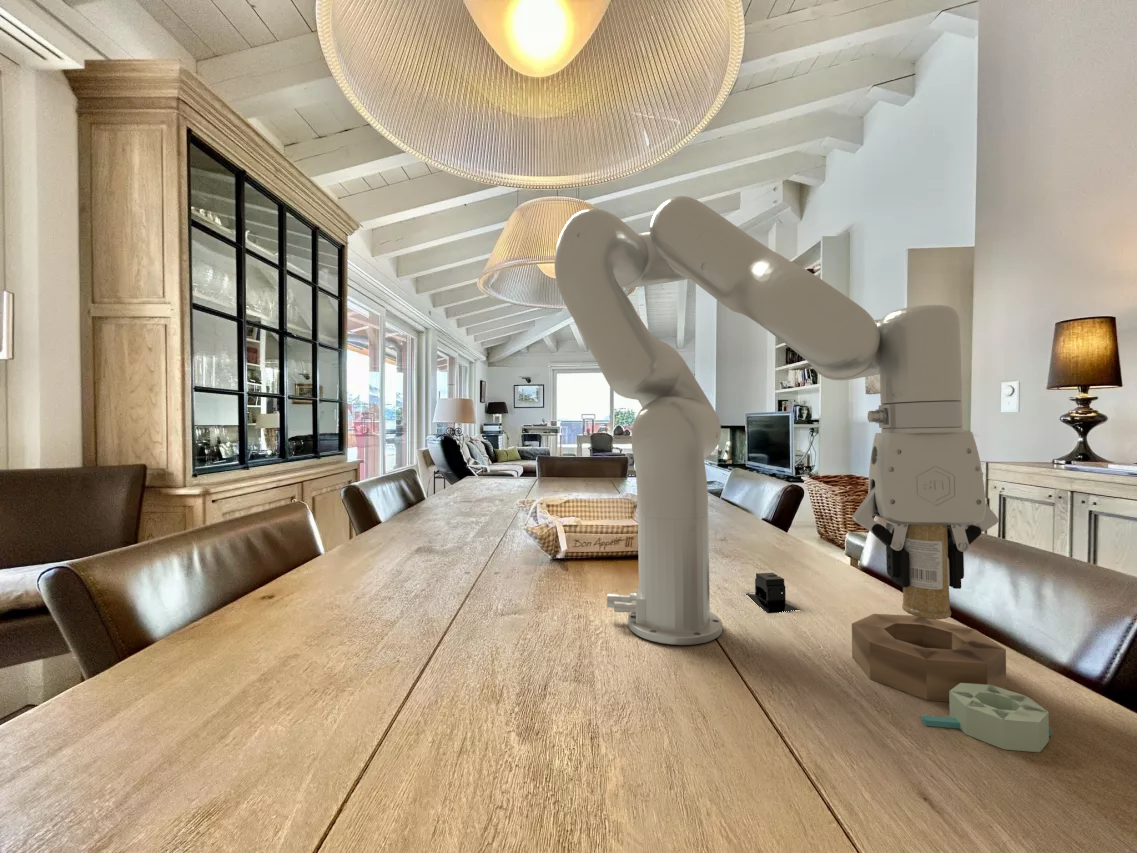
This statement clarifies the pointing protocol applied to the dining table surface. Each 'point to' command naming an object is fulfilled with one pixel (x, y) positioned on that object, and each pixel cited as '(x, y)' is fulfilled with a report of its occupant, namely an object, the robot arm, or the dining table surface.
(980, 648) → the brown octagonal holder
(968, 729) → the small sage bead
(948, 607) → the sprinkles bottle
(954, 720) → the teal bar
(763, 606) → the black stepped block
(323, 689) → the dining table surface
